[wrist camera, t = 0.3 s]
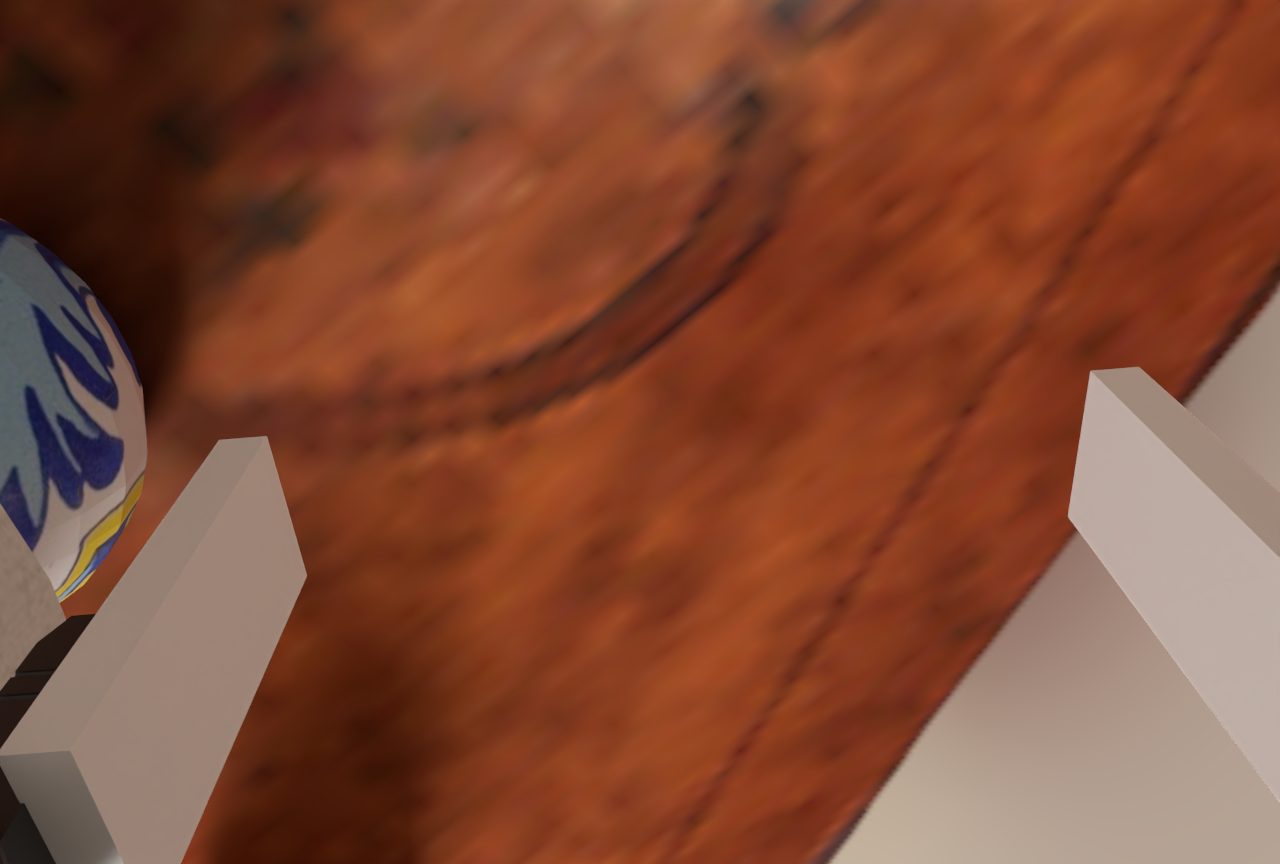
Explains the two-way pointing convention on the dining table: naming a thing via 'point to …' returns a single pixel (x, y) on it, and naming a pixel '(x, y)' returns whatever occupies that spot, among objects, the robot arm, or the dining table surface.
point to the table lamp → (59, 440)
